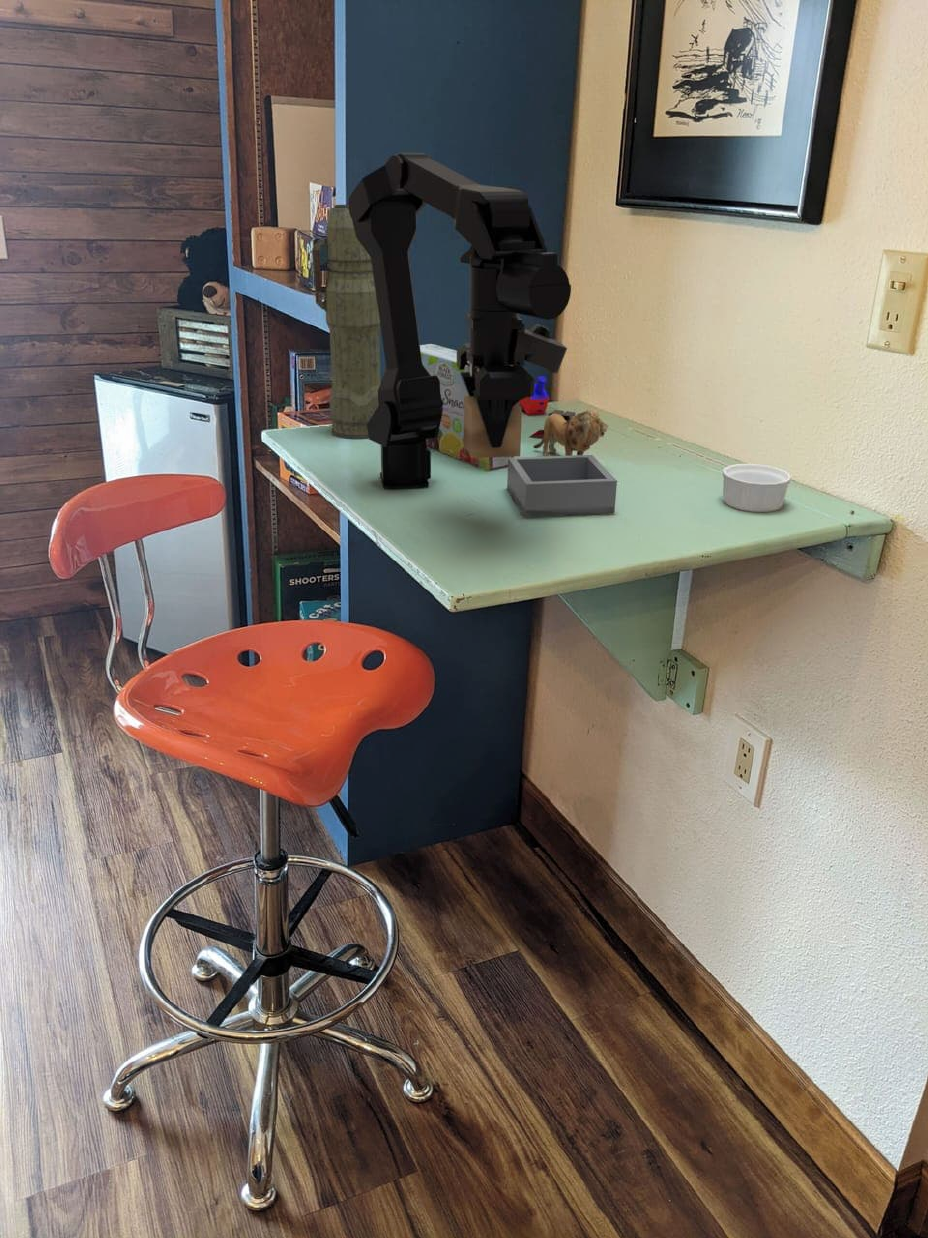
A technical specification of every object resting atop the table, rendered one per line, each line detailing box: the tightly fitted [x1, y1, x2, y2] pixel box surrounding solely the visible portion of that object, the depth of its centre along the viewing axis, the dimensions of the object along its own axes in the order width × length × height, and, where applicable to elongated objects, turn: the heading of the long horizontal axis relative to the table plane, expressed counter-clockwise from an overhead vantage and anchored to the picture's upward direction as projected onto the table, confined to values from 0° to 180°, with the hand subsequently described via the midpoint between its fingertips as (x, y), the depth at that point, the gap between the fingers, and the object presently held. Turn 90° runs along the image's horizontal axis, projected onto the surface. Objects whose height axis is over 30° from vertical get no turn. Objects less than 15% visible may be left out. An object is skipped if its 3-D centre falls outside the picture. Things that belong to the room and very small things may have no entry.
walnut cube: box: [464, 396, 523, 458], centre depth 122 cm, size 6×6×6 cm
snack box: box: [420, 343, 515, 472], centre depth 154 cm, size 21×6×15 cm, turn 37°
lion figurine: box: [533, 409, 609, 457], centre depth 151 cm, size 15×5×9 cm, turn 36°
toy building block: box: [518, 375, 551, 416], centre depth 179 cm, size 4×4×8 cm
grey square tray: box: [506, 454, 618, 519], centre depth 135 cm, size 12×12×4 cm
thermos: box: [311, 204, 381, 440], centre depth 160 cm, size 9×12×35 cm
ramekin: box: [722, 463, 792, 513], centre depth 136 cm, size 9×9×4 cm
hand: (491, 440), depth 123 cm, fingers closed on walnut cube, 6 cm apart
